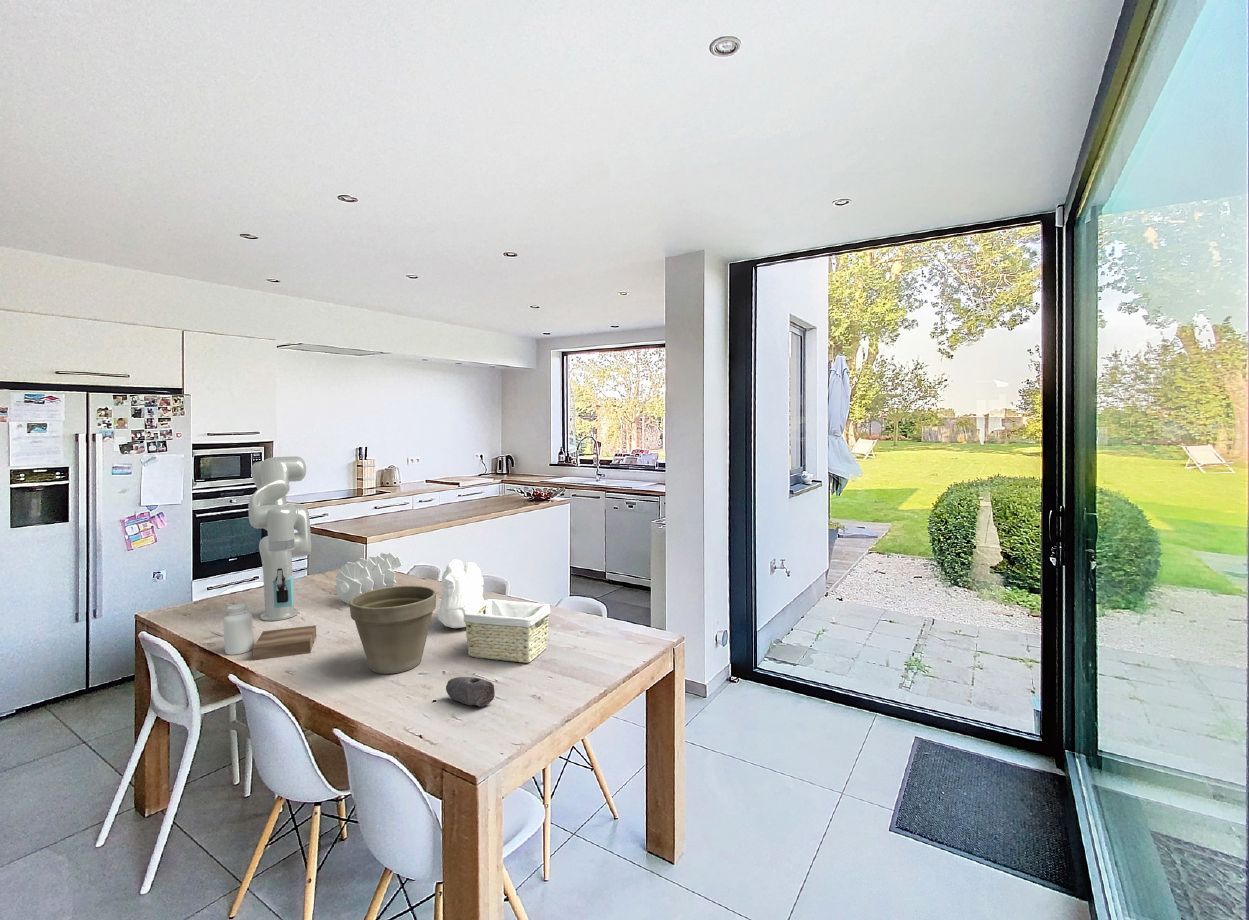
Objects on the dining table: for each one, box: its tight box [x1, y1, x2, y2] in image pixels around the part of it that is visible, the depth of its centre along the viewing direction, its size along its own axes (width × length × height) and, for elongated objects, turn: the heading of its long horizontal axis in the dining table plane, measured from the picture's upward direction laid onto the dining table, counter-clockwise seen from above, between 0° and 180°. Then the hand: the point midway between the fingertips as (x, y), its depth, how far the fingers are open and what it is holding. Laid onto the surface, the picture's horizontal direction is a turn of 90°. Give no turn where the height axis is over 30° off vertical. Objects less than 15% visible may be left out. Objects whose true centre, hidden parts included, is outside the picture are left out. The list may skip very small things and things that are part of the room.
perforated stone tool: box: [445, 676, 496, 708], centre depth 159 cm, size 15×5×7 cm, turn 62°
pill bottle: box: [222, 603, 254, 656], centre depth 196 cm, size 8×8×15 cm
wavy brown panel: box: [252, 625, 317, 661], centre depth 199 cm, size 16×16×4 cm
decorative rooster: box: [437, 559, 485, 629], centre depth 222 cm, size 25×16×25 cm, turn 154°
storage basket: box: [464, 598, 551, 663], centre depth 193 cm, size 24×16×15 cm
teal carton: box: [273, 575, 295, 608], centre depth 198 cm, size 5×5×9 cm
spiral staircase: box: [334, 551, 403, 605], centre depth 253 cm, size 18×18×25 cm
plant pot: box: [349, 585, 437, 675], centre depth 184 cm, size 25×25×22 cm
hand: (284, 599), depth 198 cm, fingers closed on teal carton, 5 cm apart
